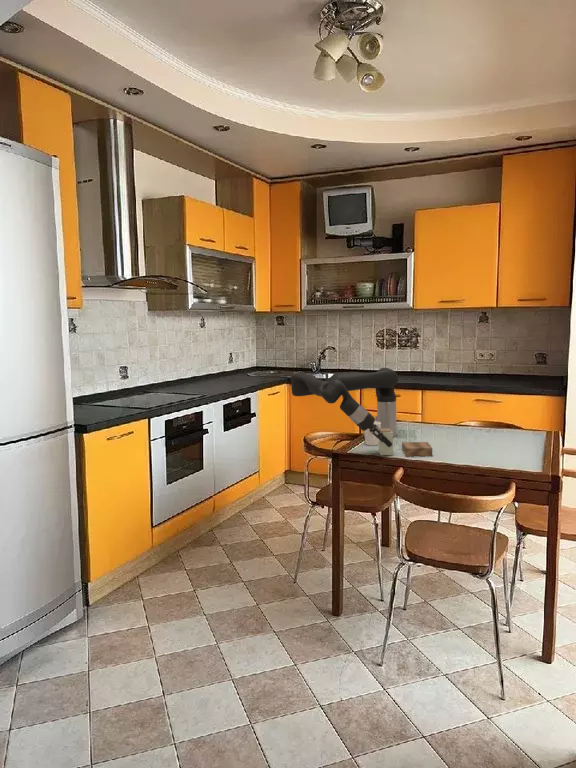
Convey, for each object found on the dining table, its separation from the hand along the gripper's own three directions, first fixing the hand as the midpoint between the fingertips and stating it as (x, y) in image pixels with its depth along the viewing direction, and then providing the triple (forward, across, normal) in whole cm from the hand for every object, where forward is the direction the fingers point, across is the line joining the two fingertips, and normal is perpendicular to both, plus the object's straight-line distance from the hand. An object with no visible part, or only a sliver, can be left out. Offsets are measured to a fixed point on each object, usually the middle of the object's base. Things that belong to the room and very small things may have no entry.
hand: (389, 443), depth 245 cm
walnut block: (+12, 0, +5) cm, 13 cm away
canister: (+2, 0, -4) cm, 5 cm away
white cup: (0, -19, -7) cm, 20 cm away
